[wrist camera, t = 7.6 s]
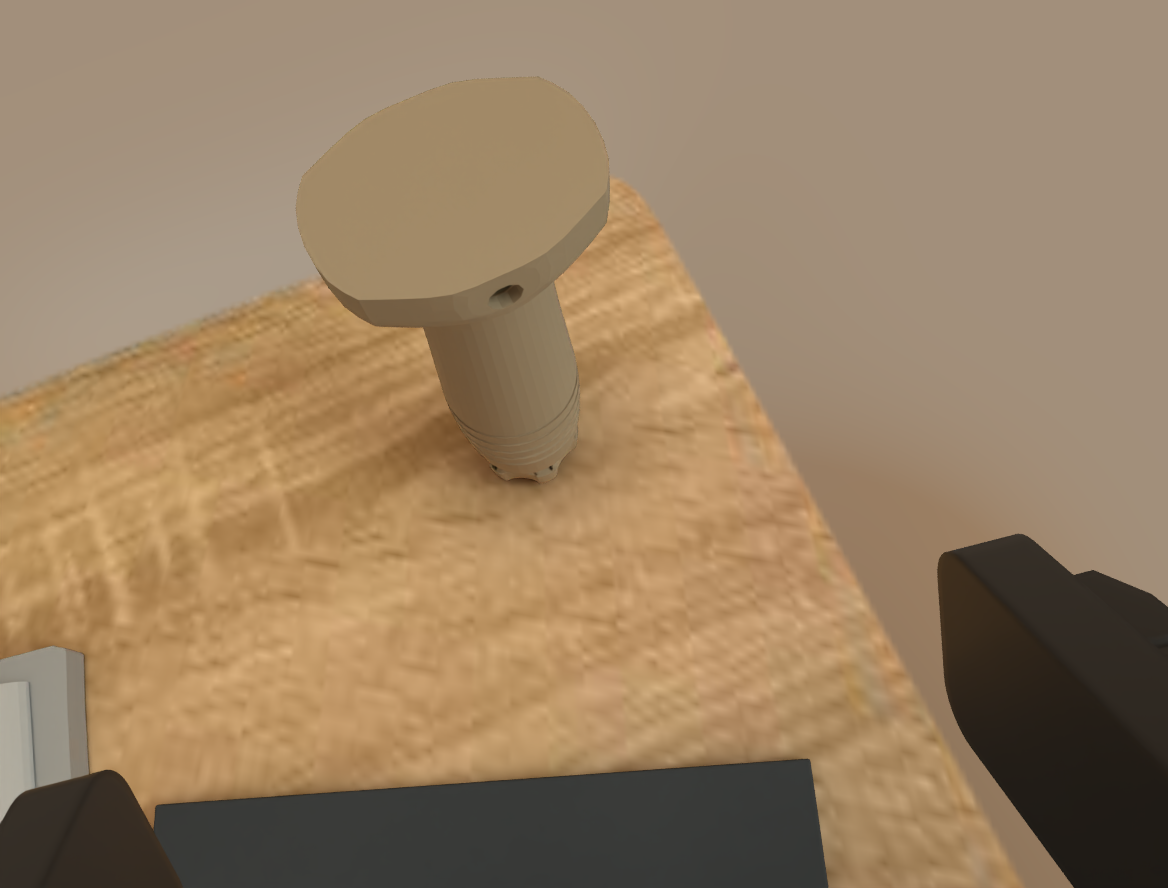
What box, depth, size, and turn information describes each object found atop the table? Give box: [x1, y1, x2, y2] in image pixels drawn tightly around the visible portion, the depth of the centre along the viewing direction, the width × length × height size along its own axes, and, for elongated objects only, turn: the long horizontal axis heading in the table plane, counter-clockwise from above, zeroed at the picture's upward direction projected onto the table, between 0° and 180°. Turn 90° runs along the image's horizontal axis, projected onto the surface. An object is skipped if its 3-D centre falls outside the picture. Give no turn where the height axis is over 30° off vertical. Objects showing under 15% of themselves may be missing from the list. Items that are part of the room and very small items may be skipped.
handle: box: [296, 77, 610, 483], centre depth 26 cm, size 5×6×15 cm
